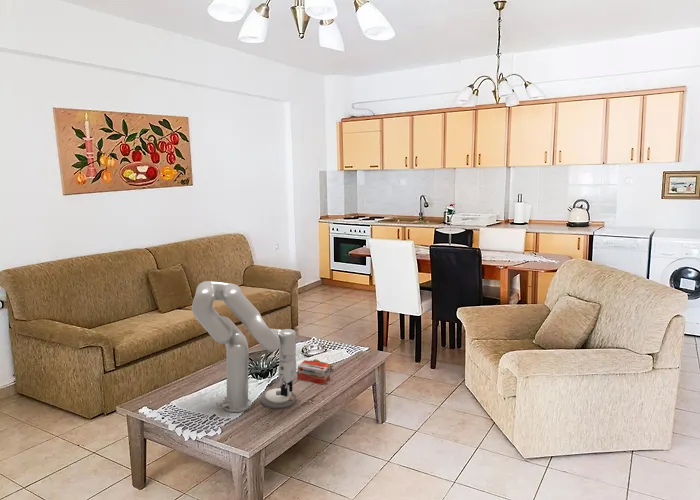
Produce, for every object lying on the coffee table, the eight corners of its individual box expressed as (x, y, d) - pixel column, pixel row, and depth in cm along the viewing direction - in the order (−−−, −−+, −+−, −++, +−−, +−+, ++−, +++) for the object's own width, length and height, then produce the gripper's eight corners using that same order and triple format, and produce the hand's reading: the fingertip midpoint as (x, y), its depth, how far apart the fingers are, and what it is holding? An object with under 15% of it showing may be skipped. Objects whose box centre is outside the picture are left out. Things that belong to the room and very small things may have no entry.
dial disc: (260, 399, 237) (260, 386, 236) (273, 389, 248) (273, 376, 247) (287, 406, 233) (287, 392, 231) (299, 394, 244) (299, 382, 243)
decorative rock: (300, 369, 277) (323, 378, 269) (300, 362, 276) (323, 371, 268) (313, 362, 287) (335, 370, 279) (314, 355, 286) (336, 363, 278)
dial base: (272, 412, 230) (272, 404, 229) (254, 398, 242) (254, 390, 241) (302, 402, 240) (302, 394, 239) (283, 389, 252) (283, 382, 252)
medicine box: (297, 379, 264) (297, 365, 262) (303, 373, 272) (303, 359, 270) (324, 385, 259) (324, 370, 258) (330, 378, 267) (330, 364, 265)
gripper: (286, 364, 226) (285, 402, 230) (302, 351, 242) (301, 387, 245) (271, 361, 229) (270, 399, 232) (288, 348, 245) (287, 384, 248)
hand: (286, 392), depth 239 cm, fingers open, 4 cm apart
